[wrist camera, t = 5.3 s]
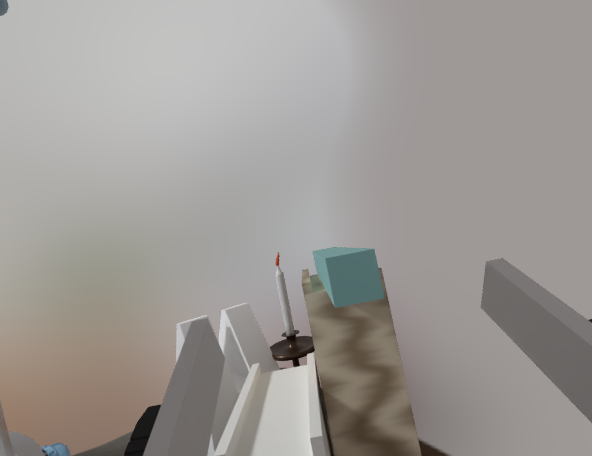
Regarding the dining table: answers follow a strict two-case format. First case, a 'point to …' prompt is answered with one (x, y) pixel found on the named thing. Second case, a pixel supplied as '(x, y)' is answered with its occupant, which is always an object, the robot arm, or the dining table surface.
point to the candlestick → (289, 330)
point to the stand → (360, 374)
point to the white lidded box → (278, 415)
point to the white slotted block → (233, 359)
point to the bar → (349, 275)
